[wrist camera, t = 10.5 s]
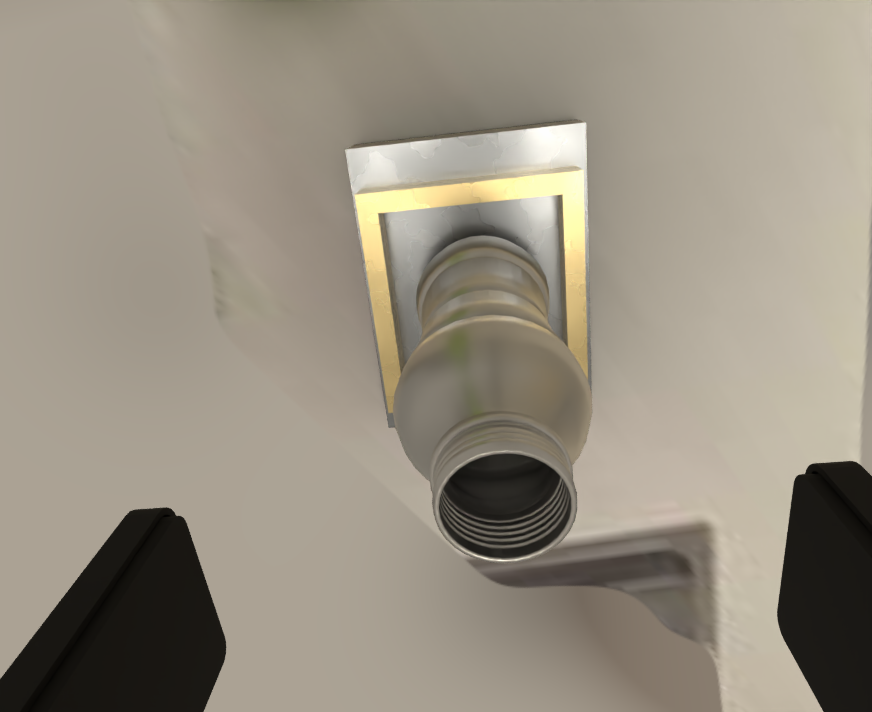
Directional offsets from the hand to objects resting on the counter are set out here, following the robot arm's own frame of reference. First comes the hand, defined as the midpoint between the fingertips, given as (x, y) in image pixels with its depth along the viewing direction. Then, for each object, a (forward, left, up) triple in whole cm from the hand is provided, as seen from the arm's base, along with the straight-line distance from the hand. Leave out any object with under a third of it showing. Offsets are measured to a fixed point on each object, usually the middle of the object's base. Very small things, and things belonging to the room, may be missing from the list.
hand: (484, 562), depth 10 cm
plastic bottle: (+3, 0, -26) cm, 26 cm away
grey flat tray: (+3, 0, -29) cm, 29 cm away
